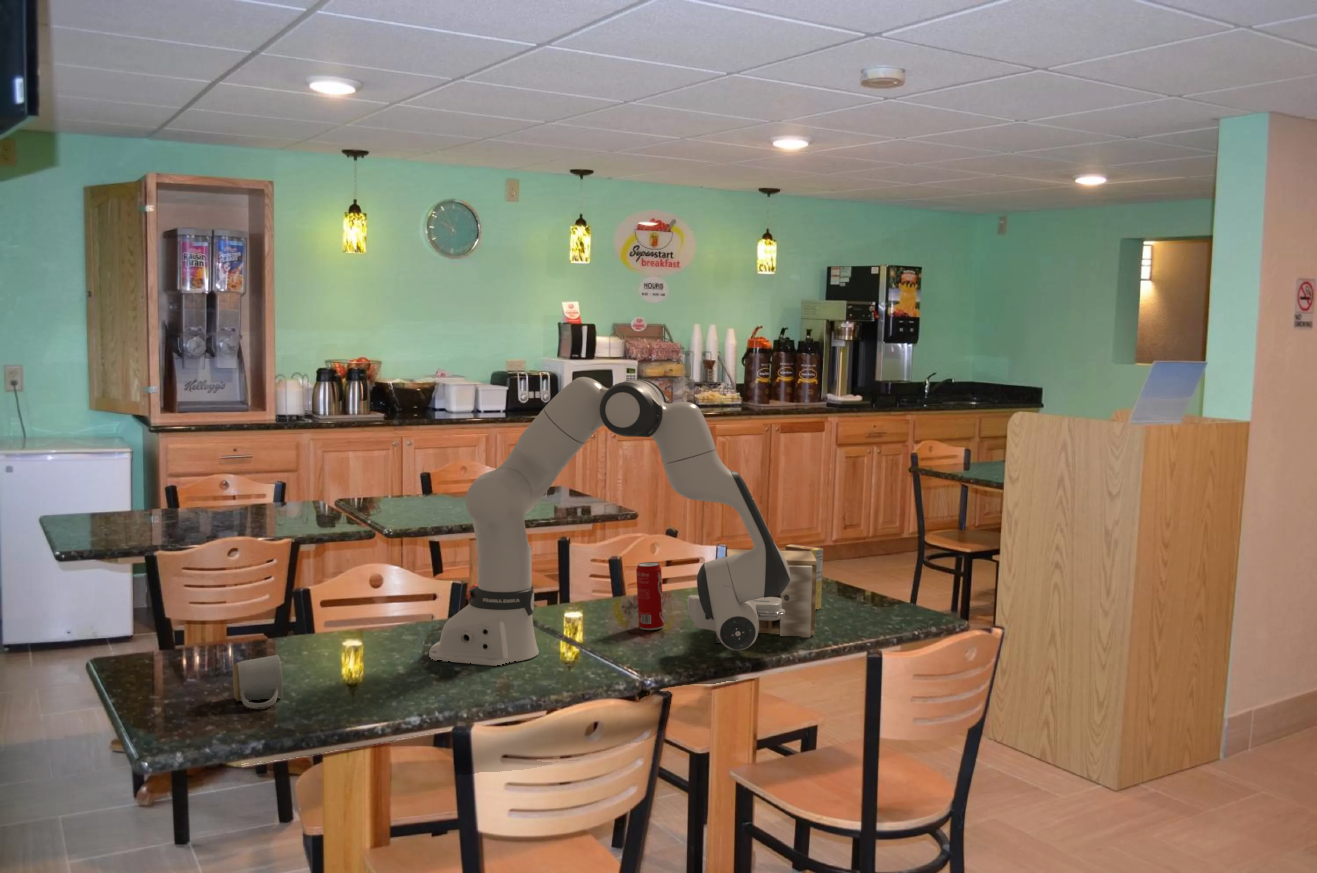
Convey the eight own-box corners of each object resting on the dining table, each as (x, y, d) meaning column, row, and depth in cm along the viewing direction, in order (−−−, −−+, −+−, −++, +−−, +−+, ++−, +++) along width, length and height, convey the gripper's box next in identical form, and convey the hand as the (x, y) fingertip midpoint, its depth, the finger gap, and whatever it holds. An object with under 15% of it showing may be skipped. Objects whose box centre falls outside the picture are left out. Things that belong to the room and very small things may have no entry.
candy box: (782, 606, 281) (784, 545, 280) (790, 603, 284) (792, 543, 283) (814, 611, 276) (816, 549, 275) (822, 608, 279) (823, 547, 278)
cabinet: (716, 643, 244) (717, 567, 243) (715, 619, 266) (717, 548, 264) (818, 646, 243) (820, 569, 242) (809, 622, 265) (811, 551, 263)
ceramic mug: (231, 696, 203) (231, 654, 202) (278, 690, 206) (278, 650, 206) (237, 714, 193) (236, 671, 193) (286, 708, 197) (286, 666, 196)
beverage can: (663, 631, 254) (664, 566, 253) (634, 630, 254) (635, 565, 253) (663, 624, 260) (665, 561, 259) (635, 624, 260) (636, 560, 259)
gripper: (786, 600, 231) (781, 585, 245) (687, 597, 232) (688, 583, 246) (785, 630, 231) (781, 614, 245) (686, 627, 232) (687, 611, 246)
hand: (734, 598), depth 245 cm, fingers open, 8 cm apart
